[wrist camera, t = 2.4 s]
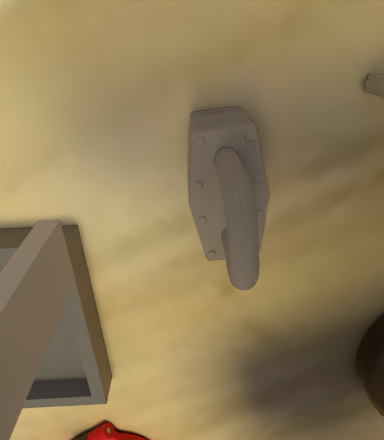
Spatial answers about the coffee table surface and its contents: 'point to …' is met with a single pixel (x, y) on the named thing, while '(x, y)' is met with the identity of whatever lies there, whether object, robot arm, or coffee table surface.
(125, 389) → the coffee table surface
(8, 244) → the tray
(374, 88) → the cassette
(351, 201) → the coffee table surface
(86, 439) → the tow hook
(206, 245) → the padlock
